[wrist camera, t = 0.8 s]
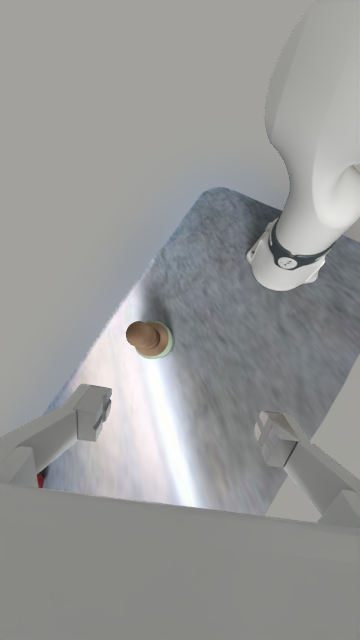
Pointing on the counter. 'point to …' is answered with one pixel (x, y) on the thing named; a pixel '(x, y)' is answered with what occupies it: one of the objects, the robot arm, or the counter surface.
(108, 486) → the counter surface
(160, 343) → the lid
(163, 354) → the canister
